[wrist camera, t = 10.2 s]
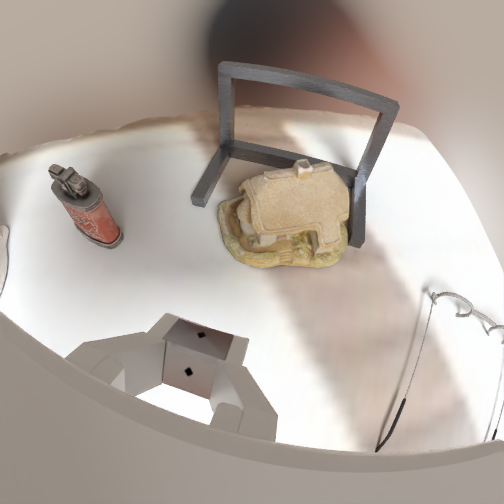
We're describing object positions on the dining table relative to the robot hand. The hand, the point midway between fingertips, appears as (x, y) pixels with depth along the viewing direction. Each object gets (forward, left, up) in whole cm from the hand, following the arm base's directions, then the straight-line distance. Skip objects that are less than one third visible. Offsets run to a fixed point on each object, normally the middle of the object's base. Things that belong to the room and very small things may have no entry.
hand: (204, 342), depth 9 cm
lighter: (-19, +10, -16) cm, 27 cm away
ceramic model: (+2, +17, -16) cm, 23 cm away
